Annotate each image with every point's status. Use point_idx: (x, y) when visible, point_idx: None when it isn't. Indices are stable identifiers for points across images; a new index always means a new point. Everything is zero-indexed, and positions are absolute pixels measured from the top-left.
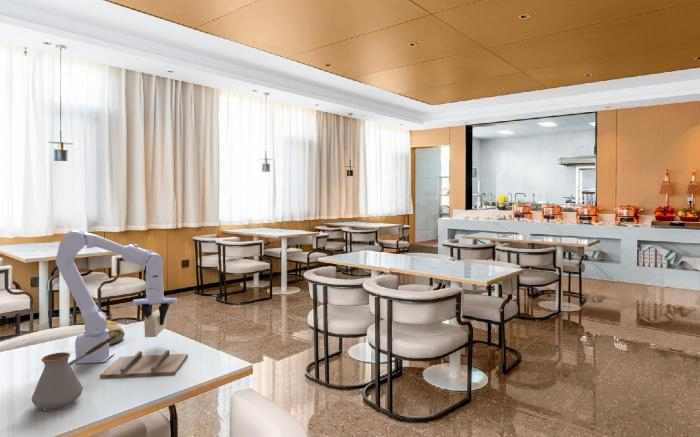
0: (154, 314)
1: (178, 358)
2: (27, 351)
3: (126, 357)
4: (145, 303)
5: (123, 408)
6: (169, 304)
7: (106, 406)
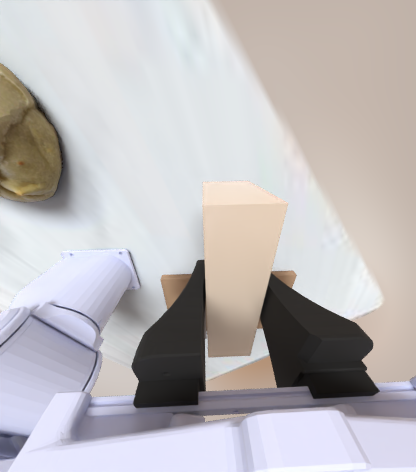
0: (226, 304)
1: None
2: None
3: (176, 284)
4: (167, 418)
5: (234, 366)
6: (364, 352)
7: (217, 364)
